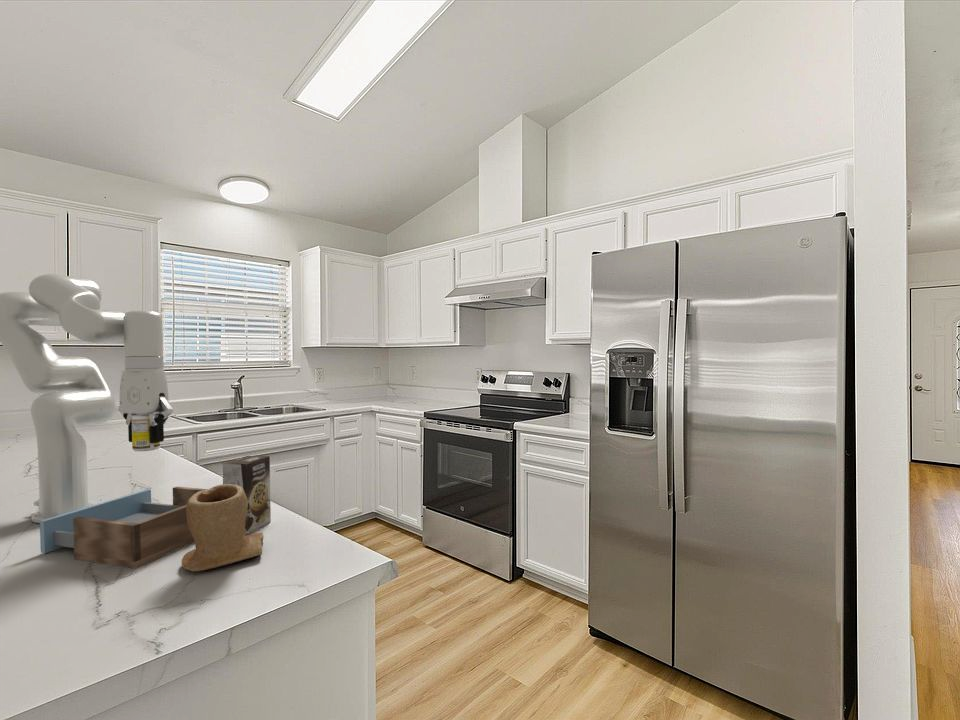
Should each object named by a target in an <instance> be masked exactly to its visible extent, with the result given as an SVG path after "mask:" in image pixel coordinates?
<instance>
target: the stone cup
mask: <svg viewBox="0 0 960 720" xmlns="http://www.w3.org/2000/svg"><path fill="white" fill-rule="evenodd" d="M207 489H208V490H202V491H199V492H197V493H195V494H194V495H193V496H192V497H191V498H190V499H189V500H188V502H187V505H186V515H187V524H188V527H189V530H190V532H191V534H192V536H193V538H194V541H195V542H194V545H195V548H194V549H191V550H189V551H187V552H186V553H185V554H183V557H182V559H181V566H182V567H183V568H184V569H185V570H187V571H190V572H202V571H206V570H211V569H215V568H219V567H222V566H227V565H230V564H233V563H234V564H235V563H238V562H240V561H243V560H244V561H245V560H248V559H251V558H254V557H258V556H261V555H262V554H263V545H264V532H262V531H261V532H257V533H253V534H248V535H244V527H245V521H246V515H247V509H248V501H247V497H246V494H245V492H244V489H243V488H242V487H240V486H238V485H234V484H224V485H223V484H217V485H215V486H212V487H210V488H207Z"/></svg>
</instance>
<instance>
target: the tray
mask: <svg viewBox="0 0 960 720" xmlns="http://www.w3.org/2000/svg"><path fill="white" fill-rule="evenodd" d="M179 507H182V506H180V505H173V504H168V503H161V502H160V503H159V502H152V490H151V489H149V488H146V489H143V490H140V491H137V492H132V493H129V494H126V495H122V496H120V497H116V498H113V499H109V500H106V501H103V502H98V503H95V504H94V505H92V506H88V507H85V508H82V509H78V510H75V511H71V512H68V513H65V514H61V515H58V516H55V517H51V518H48V519H44V520H41V521H40V523H39V537H40V540H39V543H40V553H41V554H47V553H50V552H53V551H55V550H58V549H61V548H64V547H65V548H71V549H74V529H73V518H77V517H87V518H96V519H104V520H113V521H121V522H130V523H137V522H140V521H143V520H145V519H148V518H151V517H154V516H157V515H159V514H162V513H165V512H168V511H171V510H173V509H176V508H179Z"/></svg>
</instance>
